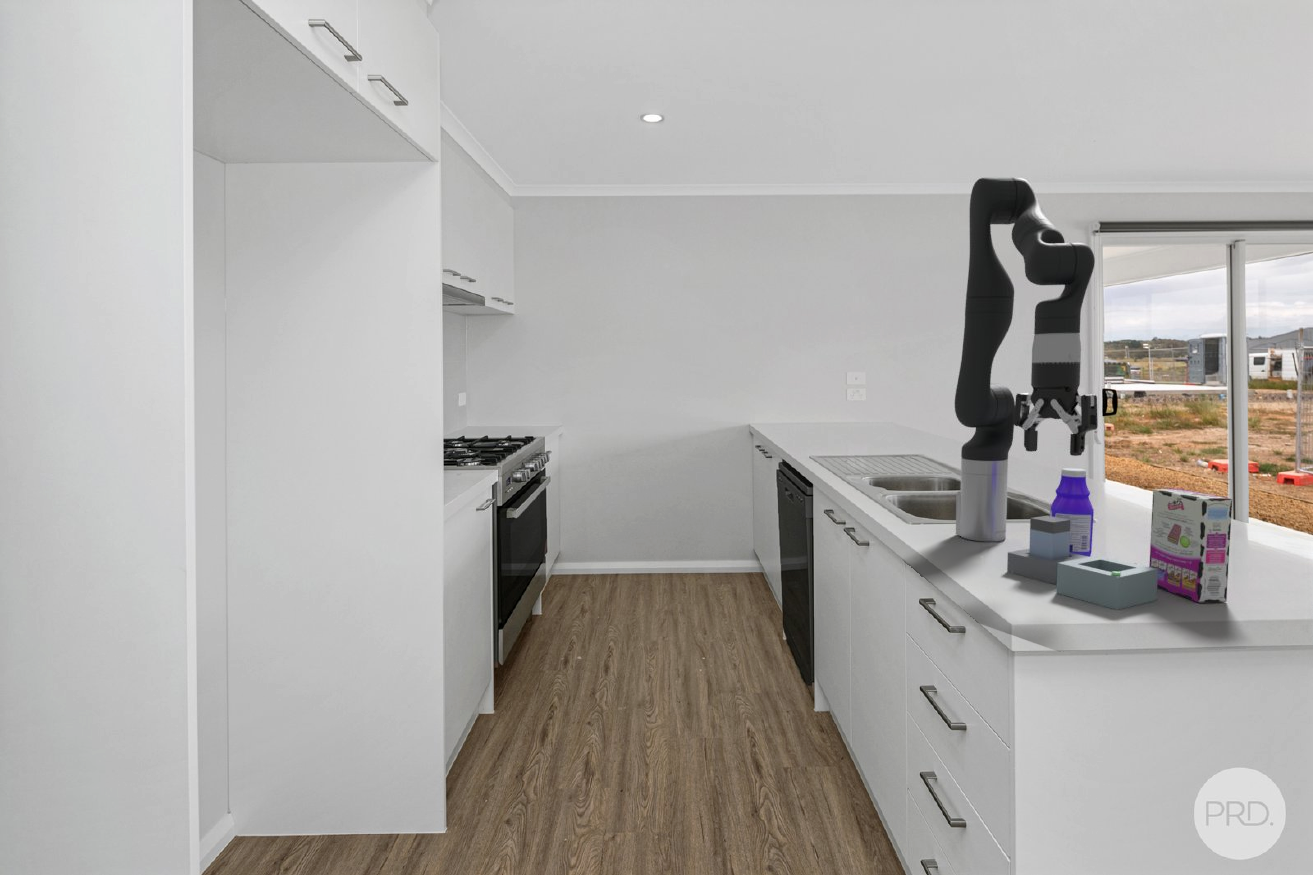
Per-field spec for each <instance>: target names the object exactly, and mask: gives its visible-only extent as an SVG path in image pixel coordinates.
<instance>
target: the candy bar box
mask: <svg viewBox="0 0 1313 875" xmlns="http://www.w3.org/2000/svg"><path fill="white" fill-rule="evenodd" d="M1151 508H1152V509H1151V524H1150V525H1151V527H1150V529H1151V530H1150V543H1149V544H1150V546H1149V564H1148V567H1151V568H1156V569H1158V580H1157V589H1161V590H1163V591H1166V592H1168V593H1171V594H1174V595H1177V596H1179V597H1183V598H1186V599H1188V600H1191V601H1193V602H1196V603H1198V604H1199V603H1200V604H1201V603H1205V604H1206V603H1207V604H1208V603H1212V604H1213V603H1226V602H1227V601H1228V600H1227V599H1228V598H1227V597H1228V580H1229V564H1230V563H1229V562H1230V544H1231V531H1232V530H1231V528H1232V526H1231V525H1232V513H1233V512H1232V510H1233V499H1232V498H1229V497H1222V496H1218V495H1214V494H1208V493H1203V492H1198V491H1191V490H1186V489H1182V488H1181V489H1179V488H1156V489H1152V506H1151Z"/></svg>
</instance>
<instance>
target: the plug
mask: <svg viewBox="0 0 1313 875" xmlns="http://www.w3.org/2000/svg"><path fill="white" fill-rule="evenodd" d="M1029 519H1030V522H1029V523H1030V525H1029V549H1030V550H1029V555H1034V556H1038V557H1042V558H1046V559H1050V560H1056V559H1062V558H1067V557H1069V548H1070V520H1068V519H1063V518H1057V517H1052V516H1050V515H1044V516H1042V515H1041V516H1035V517H1030V518H1029Z"/></svg>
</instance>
